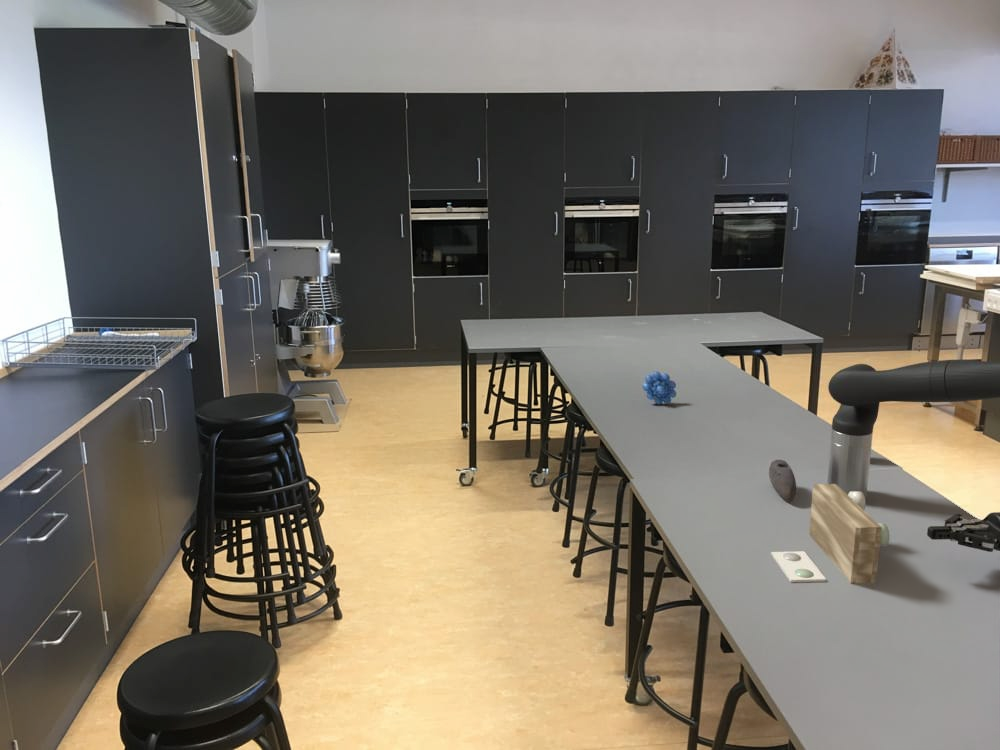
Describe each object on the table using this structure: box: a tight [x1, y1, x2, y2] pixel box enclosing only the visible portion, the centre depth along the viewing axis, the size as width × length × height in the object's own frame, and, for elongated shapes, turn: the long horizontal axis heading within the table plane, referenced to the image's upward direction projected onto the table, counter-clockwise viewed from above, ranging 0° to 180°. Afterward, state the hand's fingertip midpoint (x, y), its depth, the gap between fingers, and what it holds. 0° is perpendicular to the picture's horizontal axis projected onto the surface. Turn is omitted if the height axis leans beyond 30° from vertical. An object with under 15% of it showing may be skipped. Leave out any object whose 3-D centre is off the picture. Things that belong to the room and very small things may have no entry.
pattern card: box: [770, 550, 827, 583], centre depth 167 cm, size 12×7×1 cm, turn 0°
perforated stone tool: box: [768, 459, 797, 502], centre depth 202 cm, size 15×5×7 cm, turn 172°
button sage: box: [877, 522, 890, 546], centre depth 160 cm, size 6×4×4 cm
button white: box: [848, 491, 866, 511], centre depth 176 cm, size 6×4×4 cm
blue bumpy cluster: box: [642, 370, 677, 406], centre depth 278 cm, size 12×7×12 cm, turn 87°
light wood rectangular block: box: [808, 483, 882, 584], centre depth 169 cm, size 5×22×12 cm, turn 0°
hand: (929, 533), depth 160 cm, fingers closed
